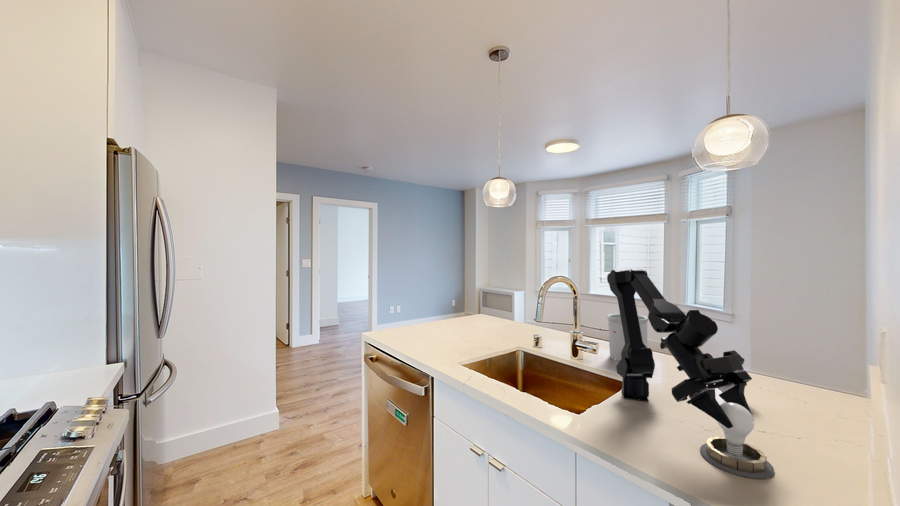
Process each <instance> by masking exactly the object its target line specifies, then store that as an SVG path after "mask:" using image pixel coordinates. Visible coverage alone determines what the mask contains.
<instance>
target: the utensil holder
mask: <svg viewBox="0 0 900 506" xmlns="http://www.w3.org/2000/svg"><path fill="white" fill-rule="evenodd" d="M638 319H639V324H640V330H641V335H642V340H643V343H644V345H645V346H646V347H647V348H648V322H649V319H648V316H646V315H644V314H643V315H642V314H638ZM607 320H608V321H607V322H608V343H609V346H608V347H609V357H610V359H612V360H614V361H616V362H618V363H619V362H620V360H621V352H622V350H623V347H624V345H625V340H624V334H623V328H622V322H621V316H620V312H619V313H618V312H617V313H615V312H614V313H610V314H607ZM611 331H616V333H614V332H611Z"/></svg>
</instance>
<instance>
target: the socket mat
mask: <svg viewBox="0 0 900 506" xmlns="http://www.w3.org/2000/svg"><path fill="white" fill-rule="evenodd" d="M715 449H716V450H718V451H720V452H721V453H723V454H725V455H728V456H731V457H734V458H736V459H742V460H748V461H753V460H756V459H755V458H753V457H751V456H749V455H748V454H746V453H743V455H742V456H737V457H736V456H733V455H731V454H730V453H729V452H727V448H723V447H720V448H715ZM699 453H700V455H701V457H702V458H703V459H704V460H706V461H707V462H708V463H709V464H710V465H713V466H714V467H715V468H717V469H720V470H722V471H724V472H727V473H729V474H732V475H735V476H738V477H741V478H747V479H752V480H753V479H755V480H766V479H770V478H773V476H774V475H775V469H774V466H773V465H772V463H770V462H769V461H768V460H767V467H766V470H765V472H761V473H747V472H742V471H738V470H734V469H731V468H729V467H726V466H724V465H722V464H720V463H718V462H716V461H715V460H713V459H712V458H710V457H709V455H708V453H707V452H706V443H704V444H702V445H701V446H700V448H699Z"/></svg>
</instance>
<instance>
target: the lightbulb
mask: <svg viewBox="0 0 900 506" xmlns="http://www.w3.org/2000/svg"><path fill="white" fill-rule="evenodd" d="M719 405H720V406H721V408H722V409H723V411H724V412H725V414H726V415H727V417H728V418H729V420H730V422H731V423H732V425H733V427H732V428H727V427H725V426H724V425H722V424H721V423H719V422H718V421H716V423H717V425H718V426H719V427H720V429H721V430H722V431H723V434H724V437H725V438H726V441H727V452H729V453H730V454H731V455H733V456H736V457H737V456H742V455H743V443H744V442H745V441H746V438H747V436H748V435H750V433H752V431H753V430H754V429H755V418H754V416H753V414H752V412H751V413H750V412H749V411H748V410H747V409H746V408H745V407H743V406H741V405H739V404H737V403H732V402H727V403H726V402H723V403H721V404H719ZM751 414H752V415H751ZM753 418H754V419H753ZM745 443H746V442H745Z"/></svg>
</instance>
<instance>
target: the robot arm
mask: <svg viewBox="0 0 900 506" xmlns="http://www.w3.org/2000/svg"><path fill="white" fill-rule="evenodd" d="M606 280H607V283H608V285H609V289H610V291H611V292H612V294H613V295H614V296H615V297H616V298H617V302H618V303H617V304H618V309H619V310H618V311H619V313H620V316H621V322H622V328H623V334H624V340H625V345H624V347H623V350H622V352H621V360H620V362H619V361H618V363H617V364H616V365H615V369H616V374H617V375H618V376H620V377H621V381H622V382H621V383H622V384H621V385H622V387H621V394H622V397H623V399H628V400H636V401H643V402H648V401H649V396H650V384H649V382H648V379H653V376H654V371H655V368H656V363H655V360H654V355H653V350H652V348H650V347H648V346H647V347H646V346H645V345H644V343H643V340H642V335H641V330H640V324H639V319H638V315H639V314H638V309H637V304H636V298H635V295H636V294H637V295H638V297H639V298H640V300H641V301H642V302H643V304H644V306H645V308H647V310H648V315H647V317H648V322H649V323H650V325H651V327H652V329H653V330H654V331H655V332H656V333H659V334H661V333H662V334H668V335H667V336H664V337H661V338H660V341H661V342H660V344H659V347H660V349H661V350H664V349H667V350H668V351H669V352H670V354H671V355H672V356H673V358H674V359H675V360H676V362H677V364H678V366H676V369H677V370H678V371H679V372H682V371H684V373H685V374H686V376H687V377H688V378H686V379H684V380H682V381H681V382H679V383H677V385H674V386H673V387H671V395H672V397H673V398H674V399H675V402H678V403H680V402H683V401H686V403H687V405H692V406H693V407H696V408H697V409H699V410H700V411H701V412H703V413H705V414H706V415H707V416H709V417H710V418H712V419H714V420H715V421H716V422H717V421H718V422H719V423H721V424H722V425H724V426H725V427H727V428H732V427H733V425H732V423H731V422H730V420H729V418H728V417H727V415H726V414H725V412H724V411H723V409H722V408H721V406H720V405H721V404H720V403H719V402H718V401H717V398H716V389H718V390H719V391H720V392H721V393H719V394H718V396H719V397H720V398H721V399H722V401H724V403H727V402H732V403H737V404H739V405H741V406H743V407H745V408H746V409H747V410H748V411H749V412H750V413H751V415H752V416H753V414H752V411H751V409H750V406H749V404H748V401H747V398H746V396H745V393H744V389H746V386H748V382H750V381H753V380H752V379H753V378H752V376H751V375H750V374H749V372H748V371H746V370H744V369H745V368H744V367H743V365H744V364H745V358H744V357H742V355H740V354H739V353H738V351H736V350H734V349H733V350H727V351H723V355H722V356H719V357H714V356H713V355H711V354H710V353H709V352H707V353H704V352H703V351H702V350H701V348H700V347H703V346H704V345H705V344H706V343H707V342H708V341H709V340H710V339H711V338H713V337H714V336H715V335H716V334H717V332H718V331H719V330H718V329H719V328H718V325H717V323H716V321H714V320H713V319H712V318H710V317H709V316H708V315H705V314H703V313H701V312H700V310H699V309H689V310H688V311H687V313H686V314H685V313H684V311H682V310H681V308H680V307H678V306H677V305H675V304H673V303H672V302H670V301H668V300H666V298H665V297H664V296H663V294H662V293H661V291H659V289H658V288H657V287H656V285H655V284H654V283H653V281H652V280H651V278H650V277H649V276H648V272H647V270H645V269H642V268H638V269H637V268H633V269H632V268H630V269H612V270H611V271H610V272H609V273H608V274H607V276H606ZM747 372H748V373H747ZM688 398H689V399H688ZM753 419H754V420H755V418H754V417H753ZM718 422H717V423H718Z"/></svg>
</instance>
